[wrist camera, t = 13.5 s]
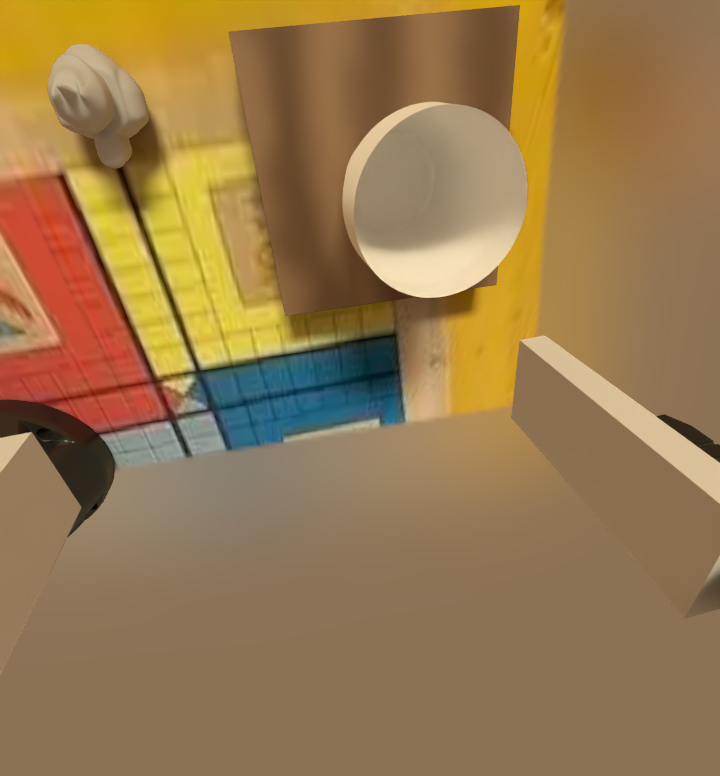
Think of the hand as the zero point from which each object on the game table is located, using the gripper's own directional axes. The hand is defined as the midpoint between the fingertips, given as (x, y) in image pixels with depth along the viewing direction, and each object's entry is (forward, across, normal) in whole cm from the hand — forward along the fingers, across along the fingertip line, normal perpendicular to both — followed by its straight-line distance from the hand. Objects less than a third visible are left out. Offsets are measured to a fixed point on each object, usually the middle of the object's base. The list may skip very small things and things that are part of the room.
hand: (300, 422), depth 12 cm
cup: (+23, +9, +3) cm, 25 cm away
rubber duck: (+28, -9, +9) cm, 31 cm away
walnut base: (+27, +9, +3) cm, 29 cm away
